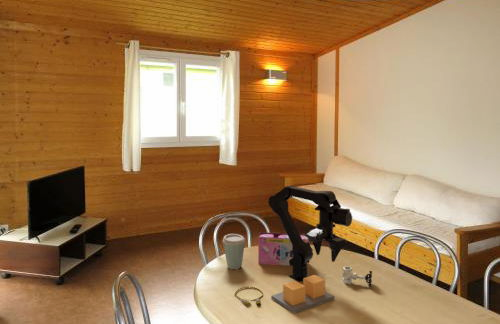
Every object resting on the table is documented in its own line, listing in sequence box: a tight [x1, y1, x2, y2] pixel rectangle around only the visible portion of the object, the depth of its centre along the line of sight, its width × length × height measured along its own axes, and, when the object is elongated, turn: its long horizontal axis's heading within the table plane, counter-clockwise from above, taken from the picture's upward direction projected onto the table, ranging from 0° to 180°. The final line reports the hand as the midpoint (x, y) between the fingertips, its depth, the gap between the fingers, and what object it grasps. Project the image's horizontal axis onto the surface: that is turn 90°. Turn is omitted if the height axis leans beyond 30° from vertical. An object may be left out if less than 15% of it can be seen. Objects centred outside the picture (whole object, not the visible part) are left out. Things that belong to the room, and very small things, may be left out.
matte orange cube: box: [282, 280, 306, 305], centre depth 151 cm, size 6×6×6 cm
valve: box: [342, 265, 373, 287], centre depth 168 cm, size 7×7×12 cm
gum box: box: [257, 231, 310, 267], centre depth 192 cm, size 24×8×14 cm, turn 79°
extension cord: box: [234, 286, 264, 307], centre depth 157 cm, size 12×16×2 cm
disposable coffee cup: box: [222, 233, 246, 270], centre depth 186 cm, size 11×11×15 cm
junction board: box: [270, 274, 335, 314], centre depth 155 cm, size 14×20×7 cm
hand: (325, 258), depth 166 cm, fingers open, 9 cm apart
